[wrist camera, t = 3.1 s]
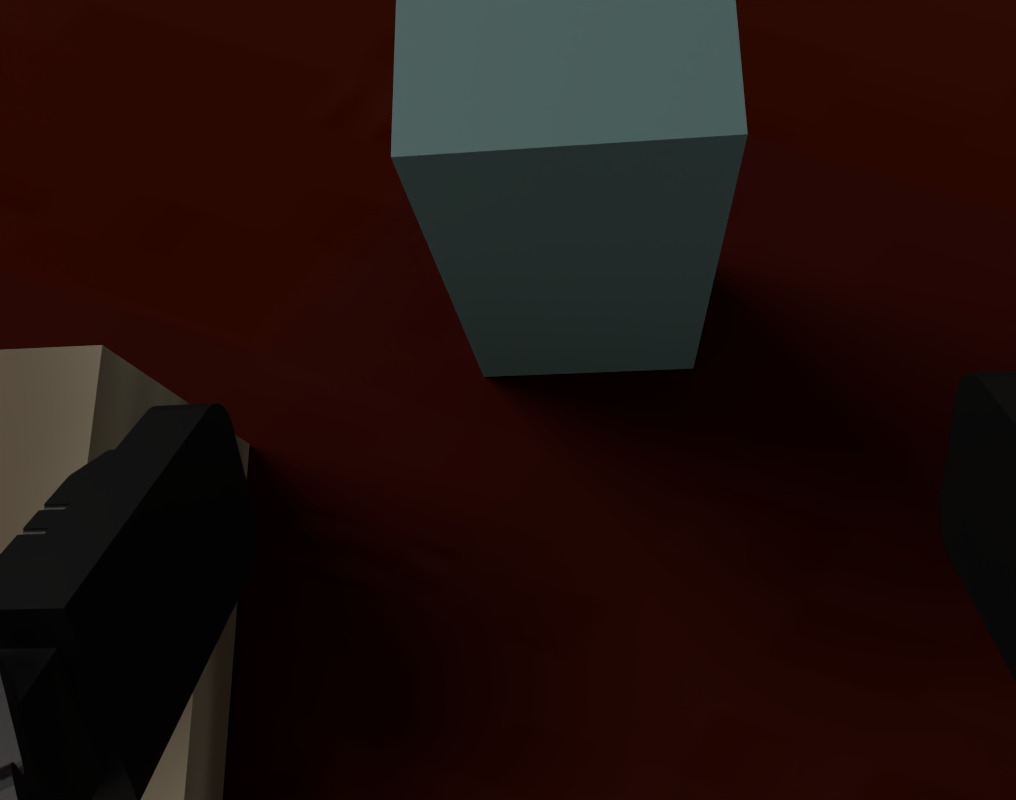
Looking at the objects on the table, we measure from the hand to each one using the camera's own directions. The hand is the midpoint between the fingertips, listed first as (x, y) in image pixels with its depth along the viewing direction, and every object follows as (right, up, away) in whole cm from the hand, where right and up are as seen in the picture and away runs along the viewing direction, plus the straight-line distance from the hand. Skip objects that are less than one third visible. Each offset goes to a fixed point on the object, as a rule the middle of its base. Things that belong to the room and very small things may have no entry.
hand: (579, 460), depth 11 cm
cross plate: (+1, +3, +13) cm, 13 cm away
